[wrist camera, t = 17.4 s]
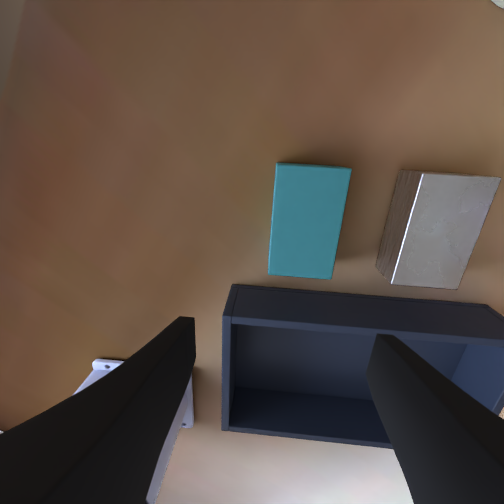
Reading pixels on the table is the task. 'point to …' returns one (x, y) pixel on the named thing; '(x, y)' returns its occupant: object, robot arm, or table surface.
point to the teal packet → (306, 219)
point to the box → (343, 358)
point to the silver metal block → (433, 227)
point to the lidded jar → (499, 3)
